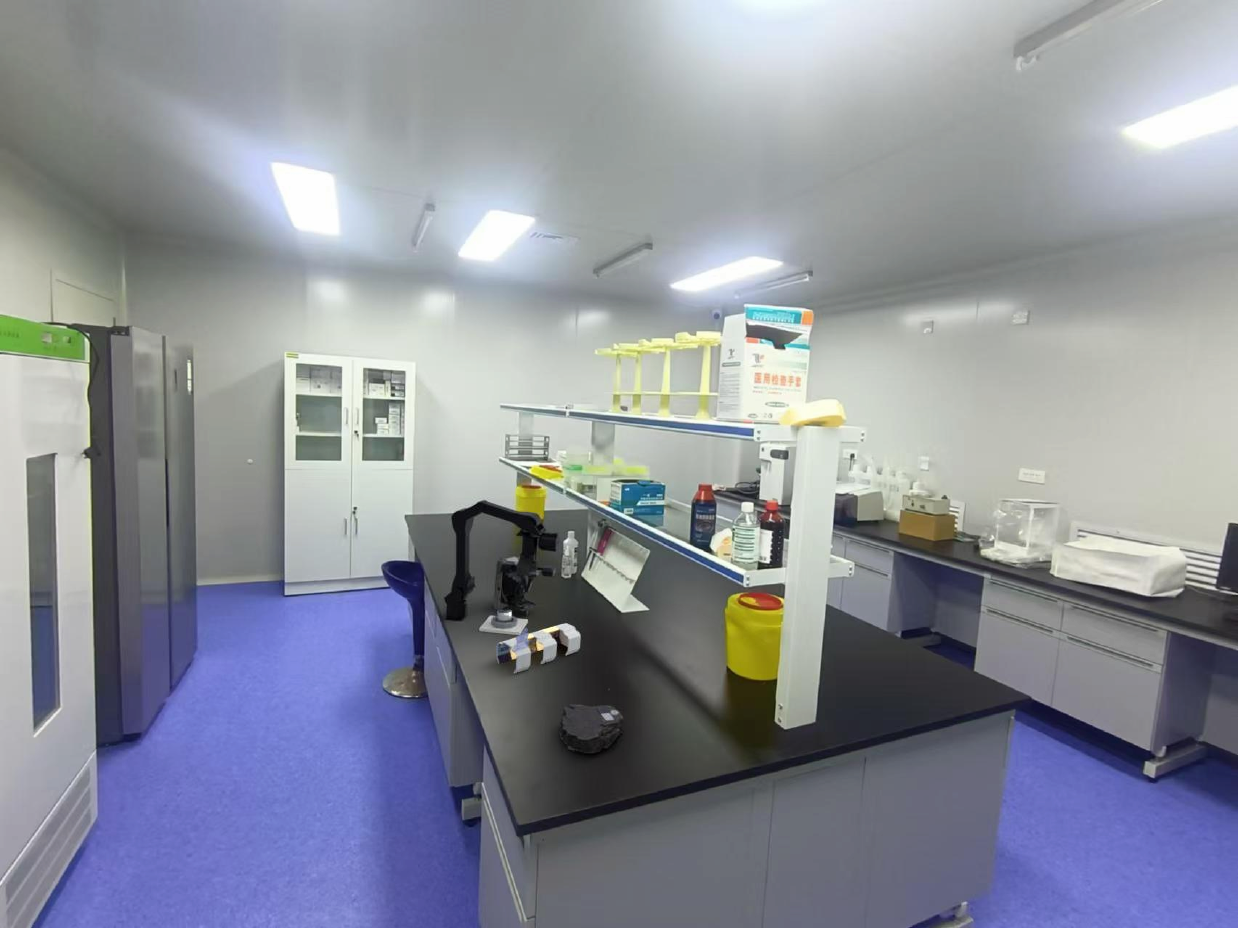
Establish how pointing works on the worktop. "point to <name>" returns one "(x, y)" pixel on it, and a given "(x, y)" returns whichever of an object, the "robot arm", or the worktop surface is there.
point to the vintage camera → (510, 588)
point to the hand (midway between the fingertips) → (526, 592)
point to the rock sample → (590, 726)
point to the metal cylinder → (504, 615)
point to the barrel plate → (505, 631)
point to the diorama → (538, 645)
